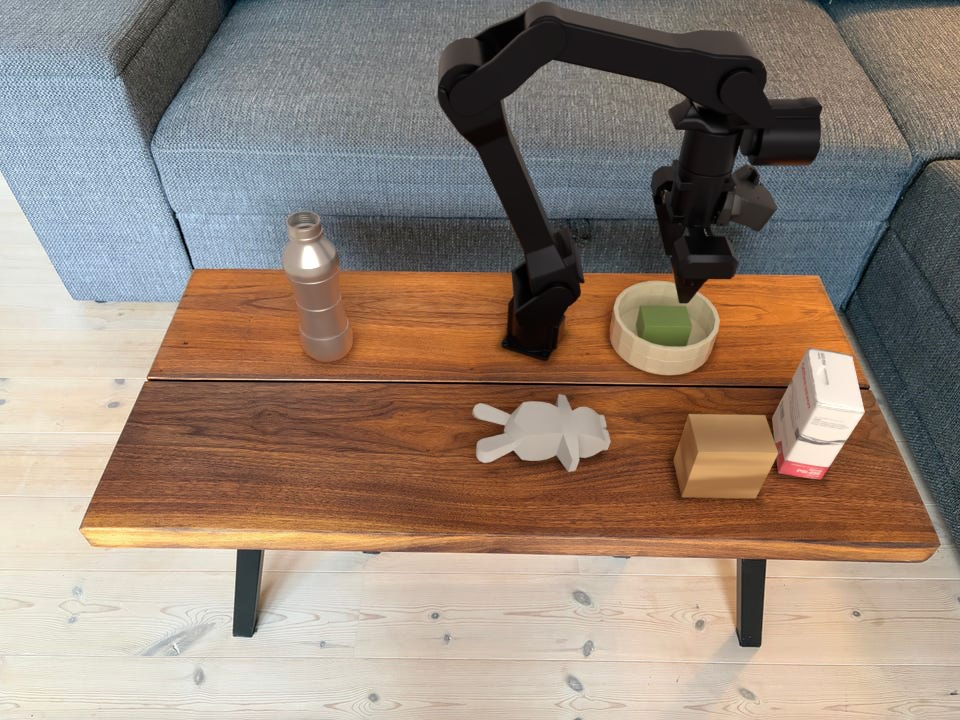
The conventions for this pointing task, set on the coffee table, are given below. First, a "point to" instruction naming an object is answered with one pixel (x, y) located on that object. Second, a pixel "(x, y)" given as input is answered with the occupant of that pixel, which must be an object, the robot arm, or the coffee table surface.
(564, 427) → the bunny figurine
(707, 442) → the block
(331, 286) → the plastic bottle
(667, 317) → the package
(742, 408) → the coffee table surface
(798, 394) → the ink box
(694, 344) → the bowl
